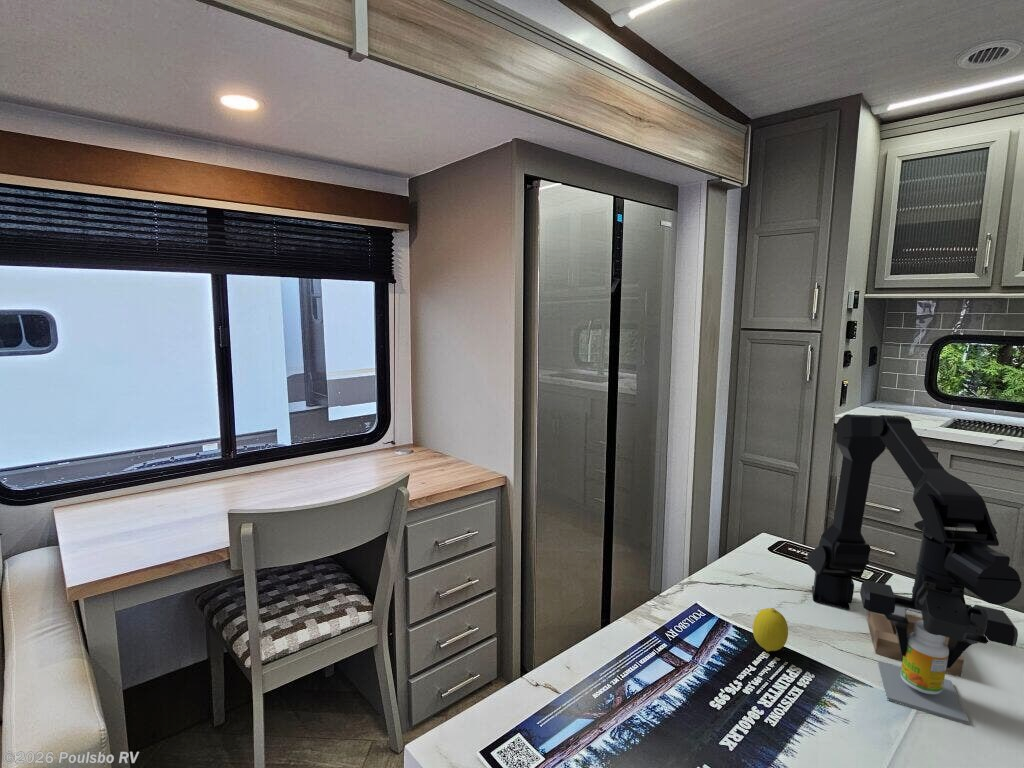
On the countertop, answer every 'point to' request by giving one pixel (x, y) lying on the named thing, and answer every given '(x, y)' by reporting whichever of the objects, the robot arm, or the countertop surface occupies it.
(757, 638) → the lemon
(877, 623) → the walnut open tray
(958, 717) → the grey rubber mat
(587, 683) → the countertop surface
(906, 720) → the countertop surface
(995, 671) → the countertop surface
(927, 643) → the supplement bottle
